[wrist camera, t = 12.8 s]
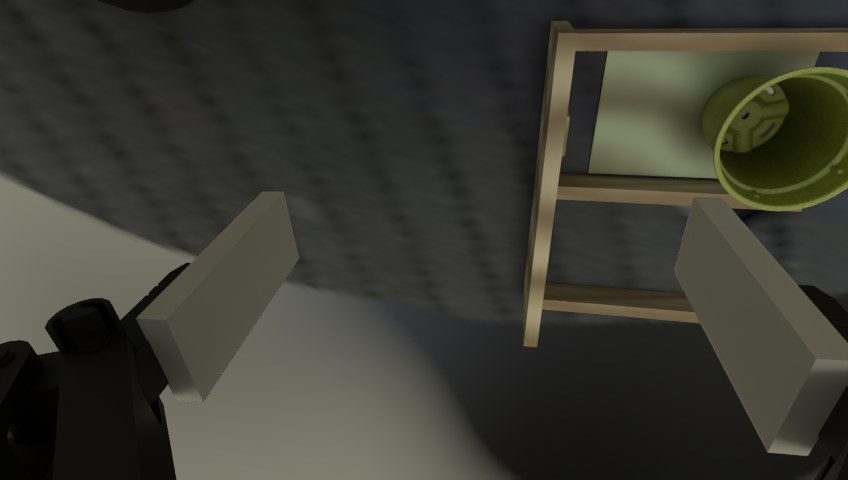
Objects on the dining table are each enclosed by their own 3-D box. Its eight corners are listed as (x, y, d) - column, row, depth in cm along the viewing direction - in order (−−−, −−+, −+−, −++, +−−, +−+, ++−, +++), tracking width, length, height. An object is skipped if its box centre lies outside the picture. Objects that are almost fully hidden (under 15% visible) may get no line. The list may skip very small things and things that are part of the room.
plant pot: (743, 191, 40) (795, 235, 33) (652, 135, 40) (683, 167, 32) (839, 93, 36) (926, 118, 28) (738, 28, 35) (799, 36, 28)
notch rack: (551, 20, 37) (558, 32, 30) (853, 18, 34) (938, 31, 27) (523, 294, 50) (523, 345, 44) (737, 312, 47) (774, 371, 40)
